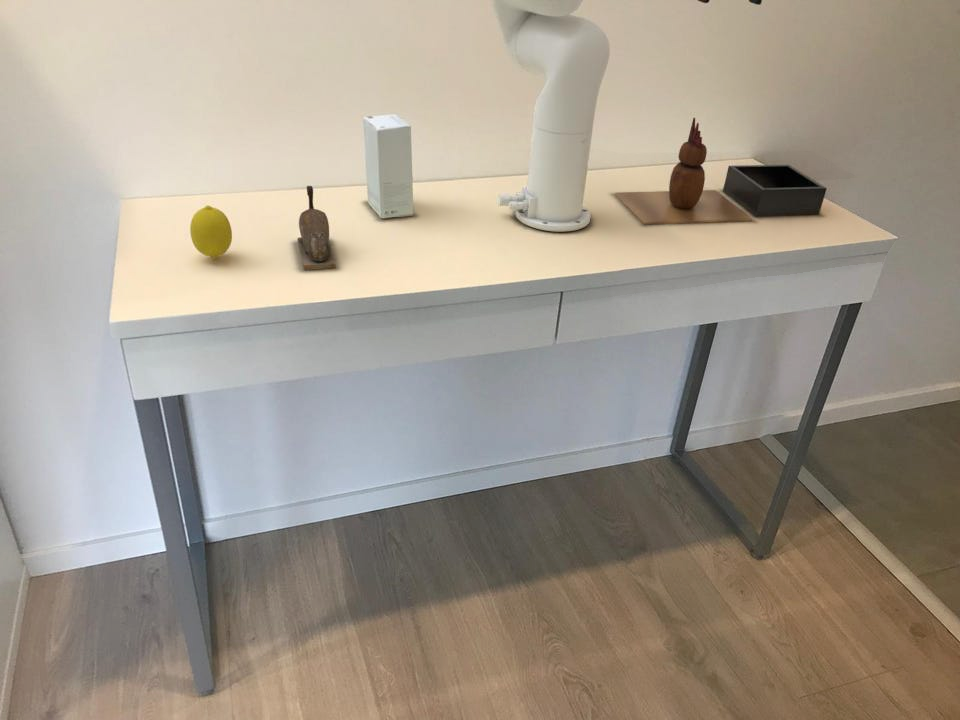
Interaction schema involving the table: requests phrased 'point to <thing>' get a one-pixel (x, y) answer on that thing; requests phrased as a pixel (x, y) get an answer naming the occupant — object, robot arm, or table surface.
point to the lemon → (211, 232)
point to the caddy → (774, 190)
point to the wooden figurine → (688, 172)
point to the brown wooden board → (664, 212)
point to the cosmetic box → (389, 165)
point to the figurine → (314, 238)
